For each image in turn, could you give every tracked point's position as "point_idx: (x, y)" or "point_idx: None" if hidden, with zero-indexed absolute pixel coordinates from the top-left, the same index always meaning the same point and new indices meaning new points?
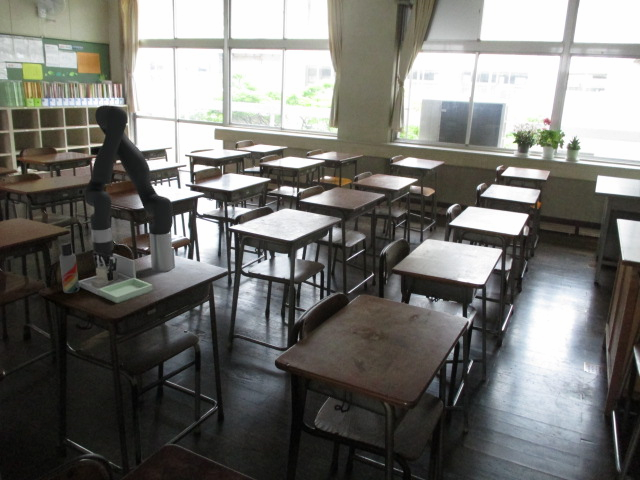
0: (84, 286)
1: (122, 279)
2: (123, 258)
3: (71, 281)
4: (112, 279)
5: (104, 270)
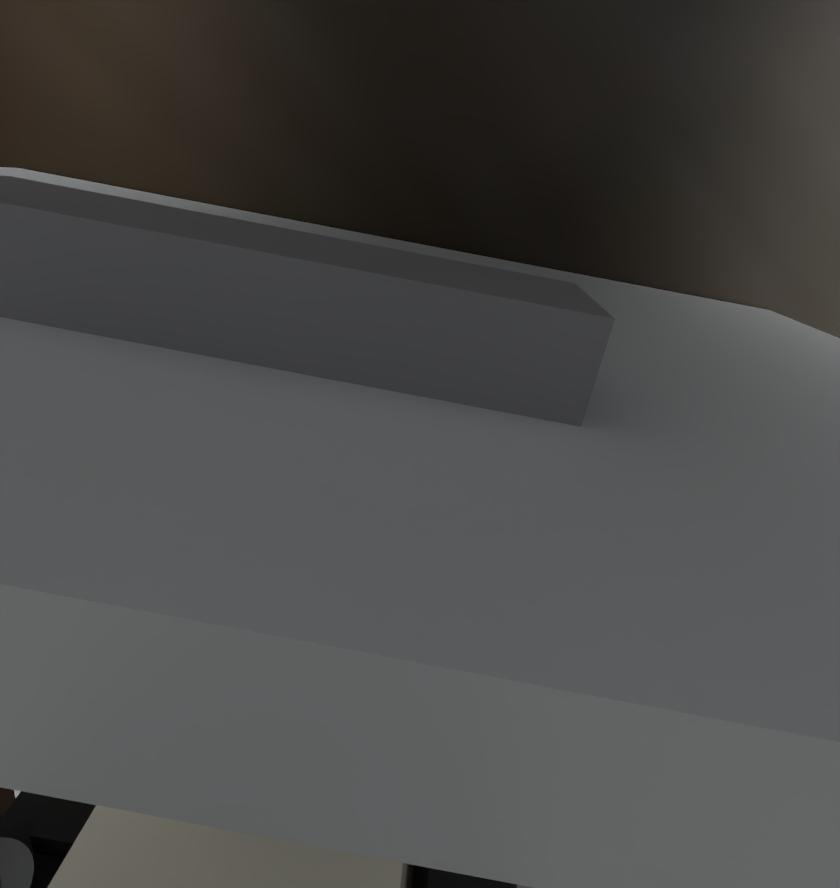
0: None
1: None
2: (205, 732)
3: None
4: None
5: None
